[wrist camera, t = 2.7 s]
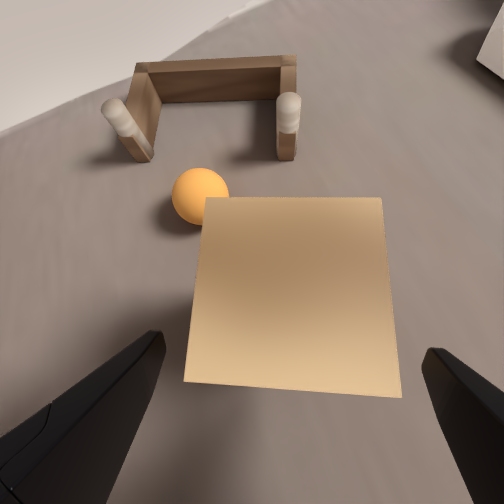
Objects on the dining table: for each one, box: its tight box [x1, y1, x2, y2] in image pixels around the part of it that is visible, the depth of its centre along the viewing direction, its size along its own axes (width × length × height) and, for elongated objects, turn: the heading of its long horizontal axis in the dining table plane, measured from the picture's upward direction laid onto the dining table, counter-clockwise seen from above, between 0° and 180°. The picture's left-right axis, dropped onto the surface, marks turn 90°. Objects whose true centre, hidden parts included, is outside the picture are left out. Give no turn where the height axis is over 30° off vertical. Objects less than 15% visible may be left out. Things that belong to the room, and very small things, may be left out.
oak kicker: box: [184, 197, 402, 398], centre depth 12 cm, size 4×4×12 cm
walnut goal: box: [101, 55, 301, 162], centre depth 21 cm, size 8×14×5 cm, turn 87°
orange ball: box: [172, 168, 229, 225], centre depth 19 cm, size 4×4×4 cm
